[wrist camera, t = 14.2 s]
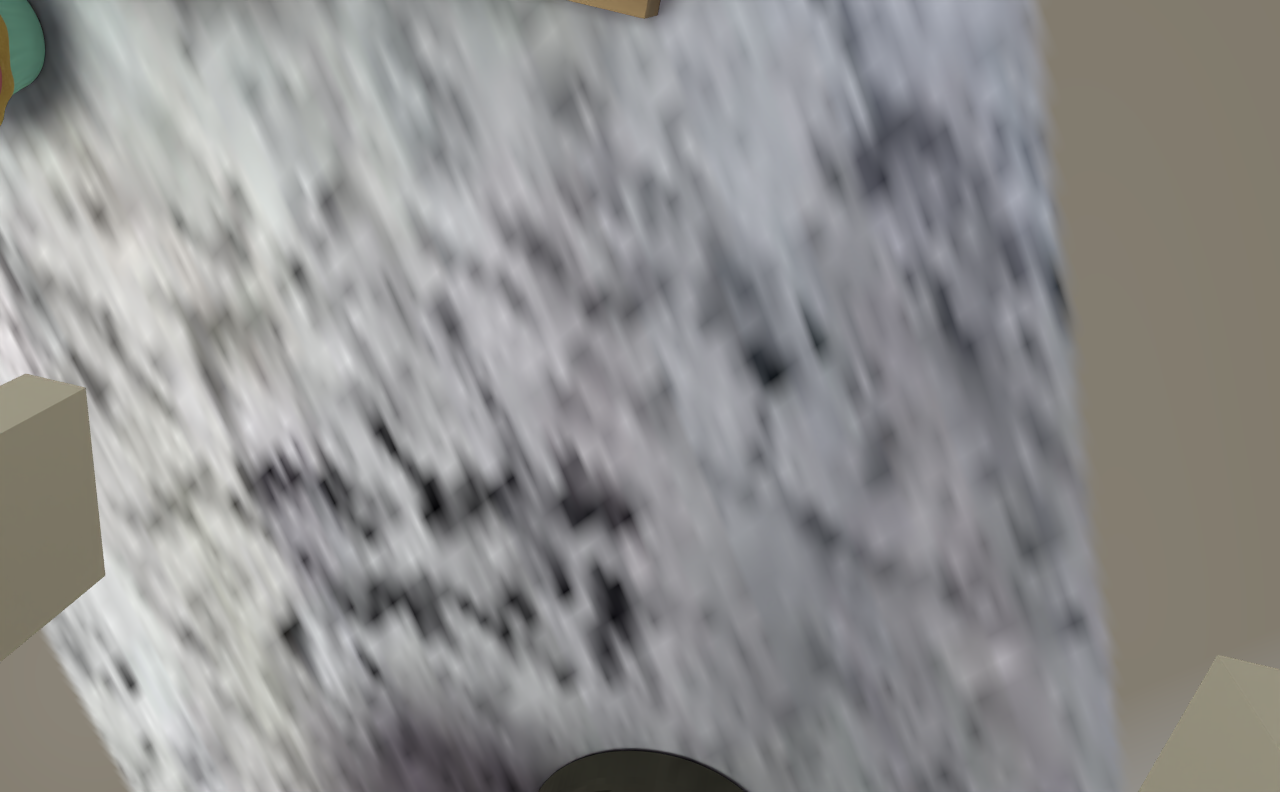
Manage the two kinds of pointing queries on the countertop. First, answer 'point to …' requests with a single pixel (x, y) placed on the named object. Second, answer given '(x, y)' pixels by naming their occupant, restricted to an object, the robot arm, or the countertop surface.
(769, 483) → the countertop surface
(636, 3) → the u-shaped block
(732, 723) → the countertop surface
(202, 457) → the countertop surface
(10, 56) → the cupcake
